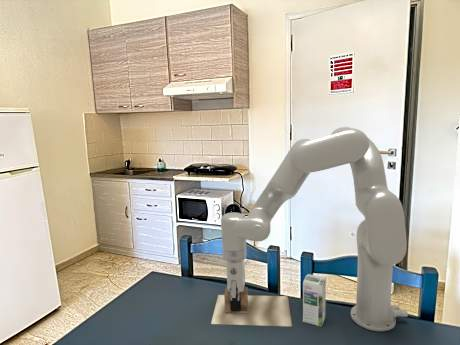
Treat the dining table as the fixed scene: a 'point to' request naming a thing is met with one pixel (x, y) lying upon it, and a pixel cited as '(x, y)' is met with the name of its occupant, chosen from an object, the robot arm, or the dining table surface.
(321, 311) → the syrup box
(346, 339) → the dining table surface
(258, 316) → the board
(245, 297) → the block
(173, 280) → the dining table surface
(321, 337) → the dining table surface
